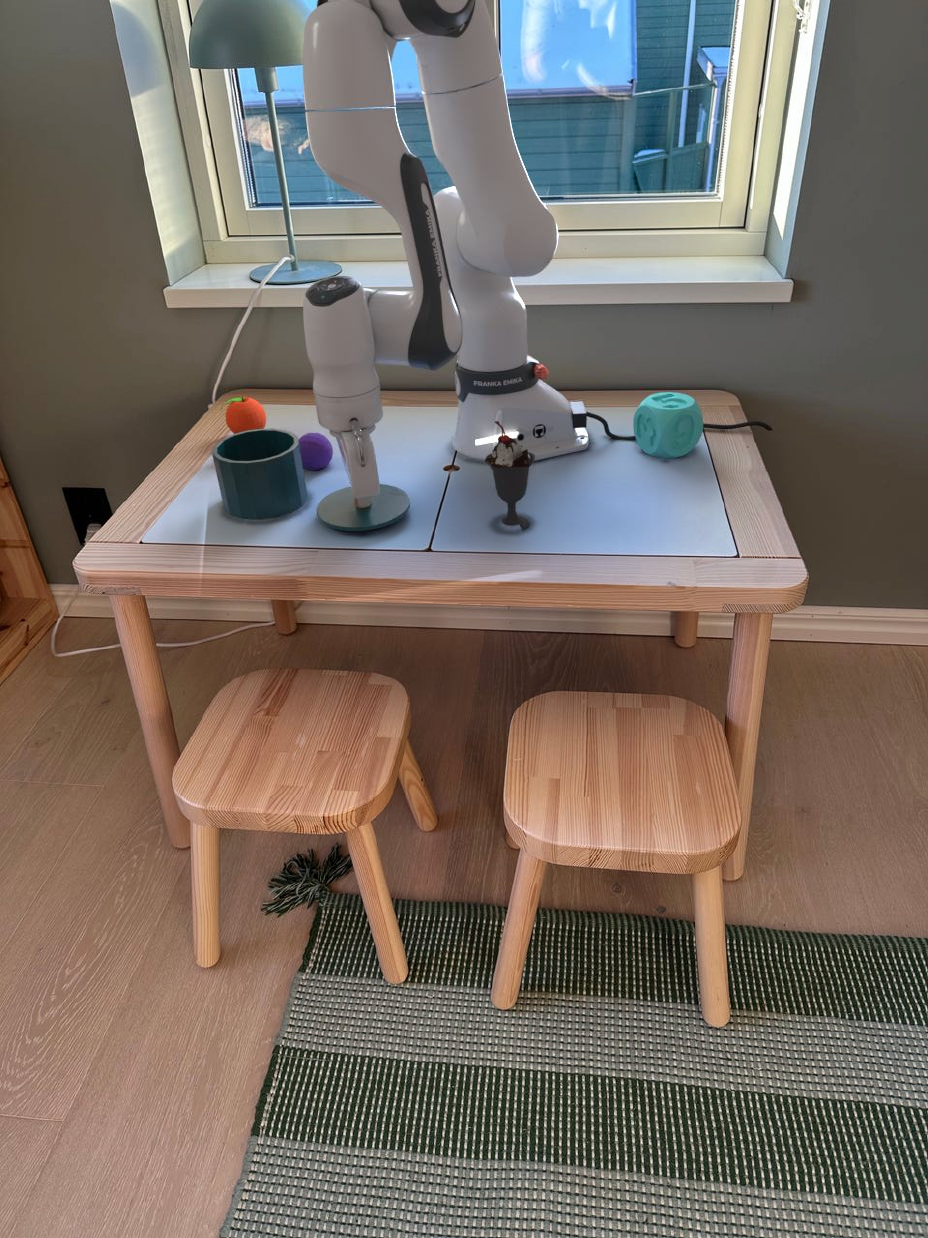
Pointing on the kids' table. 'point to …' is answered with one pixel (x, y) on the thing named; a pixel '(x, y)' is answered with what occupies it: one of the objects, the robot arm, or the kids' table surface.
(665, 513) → the kids' table surface
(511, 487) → the sundae
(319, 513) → the lid
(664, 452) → the decorative dice
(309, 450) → the kendama
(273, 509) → the pot
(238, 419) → the clementine
